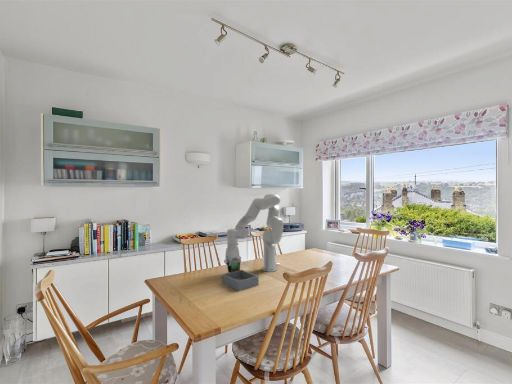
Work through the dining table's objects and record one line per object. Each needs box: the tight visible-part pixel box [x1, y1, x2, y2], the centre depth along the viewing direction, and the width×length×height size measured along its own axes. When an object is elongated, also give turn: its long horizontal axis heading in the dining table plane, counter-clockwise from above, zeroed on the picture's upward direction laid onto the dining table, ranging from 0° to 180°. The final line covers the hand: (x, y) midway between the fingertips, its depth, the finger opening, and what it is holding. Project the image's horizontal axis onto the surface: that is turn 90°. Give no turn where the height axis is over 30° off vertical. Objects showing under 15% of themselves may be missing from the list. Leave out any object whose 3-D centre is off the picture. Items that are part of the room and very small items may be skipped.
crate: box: [221, 269, 259, 292], centre depth 184 cm, size 17×19×6 cm
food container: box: [226, 258, 242, 273], centre depth 203 cm, size 12×6×10 cm, turn 61°
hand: (233, 269), depth 204 cm, fingers closed on food container, 6 cm apart
